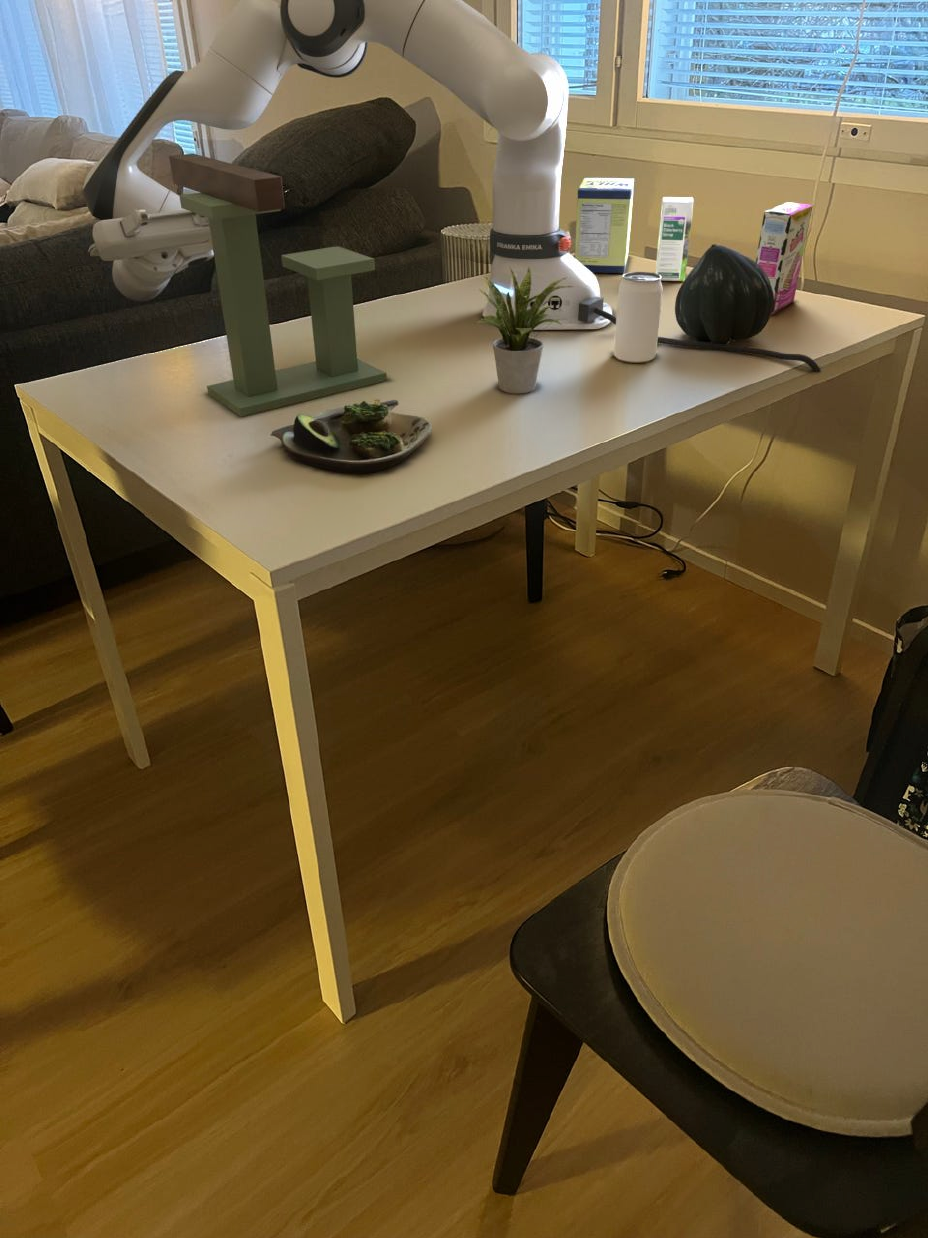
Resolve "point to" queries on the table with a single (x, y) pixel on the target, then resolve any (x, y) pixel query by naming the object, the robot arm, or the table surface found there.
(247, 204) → the walnut stick
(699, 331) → the squash
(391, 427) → the salad plate
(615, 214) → the protein box
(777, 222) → the candy bar box
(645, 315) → the can
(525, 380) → the house plant
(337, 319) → the plant stand
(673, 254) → the syrup box
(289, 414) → the table surface
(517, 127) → the robot arm
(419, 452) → the table surface
